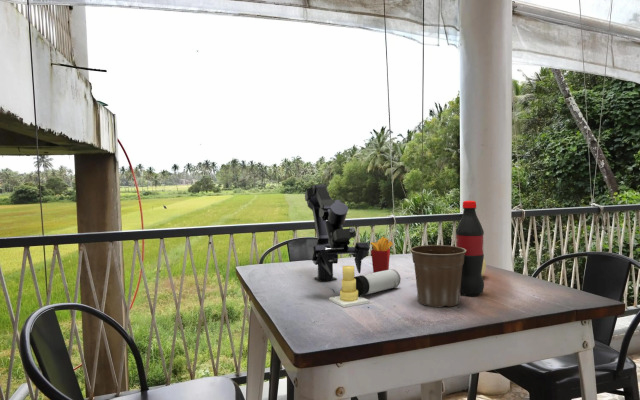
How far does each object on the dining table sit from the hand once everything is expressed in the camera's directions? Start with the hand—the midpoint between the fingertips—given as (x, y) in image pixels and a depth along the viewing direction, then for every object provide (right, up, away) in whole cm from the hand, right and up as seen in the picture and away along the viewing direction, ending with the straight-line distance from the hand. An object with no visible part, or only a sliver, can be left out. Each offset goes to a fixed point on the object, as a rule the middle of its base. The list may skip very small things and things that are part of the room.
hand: (345, 273), depth 132 cm
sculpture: (+48, -6, +26) cm, 55 cm away
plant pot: (+28, -8, -5) cm, 29 cm away
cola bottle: (+40, -7, +3) cm, 41 cm away
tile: (+1, -8, -3) cm, 9 cm away
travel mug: (+18, -4, +13) cm, 23 cm away
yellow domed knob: (+1, -7, -3) cm, 8 cm away
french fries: (+17, -6, +34) cm, 39 cm away
